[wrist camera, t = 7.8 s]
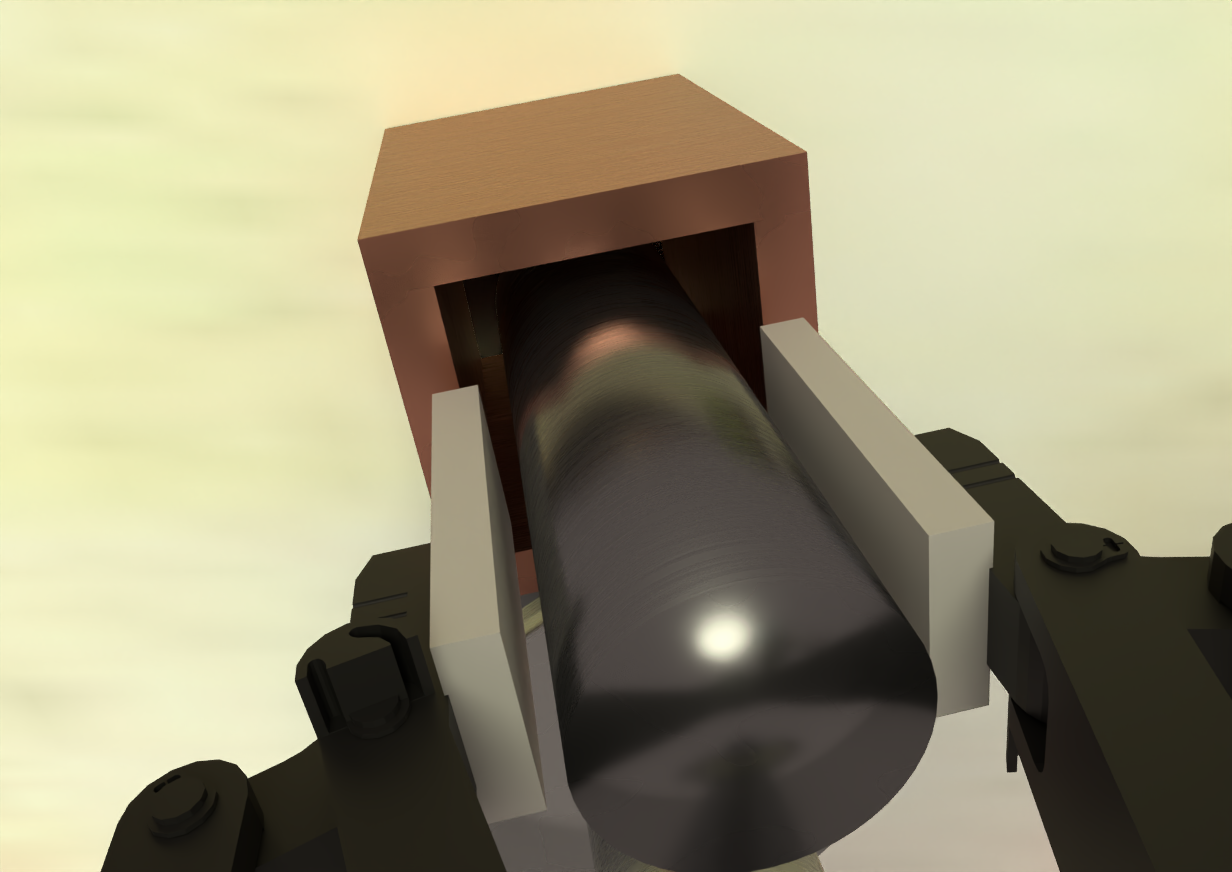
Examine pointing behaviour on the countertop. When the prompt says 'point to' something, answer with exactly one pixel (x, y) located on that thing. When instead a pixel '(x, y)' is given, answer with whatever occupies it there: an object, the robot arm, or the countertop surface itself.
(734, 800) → the dark grey cylinder
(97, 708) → the countertop surface
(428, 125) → the post with bracket
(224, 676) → the countertop surface
